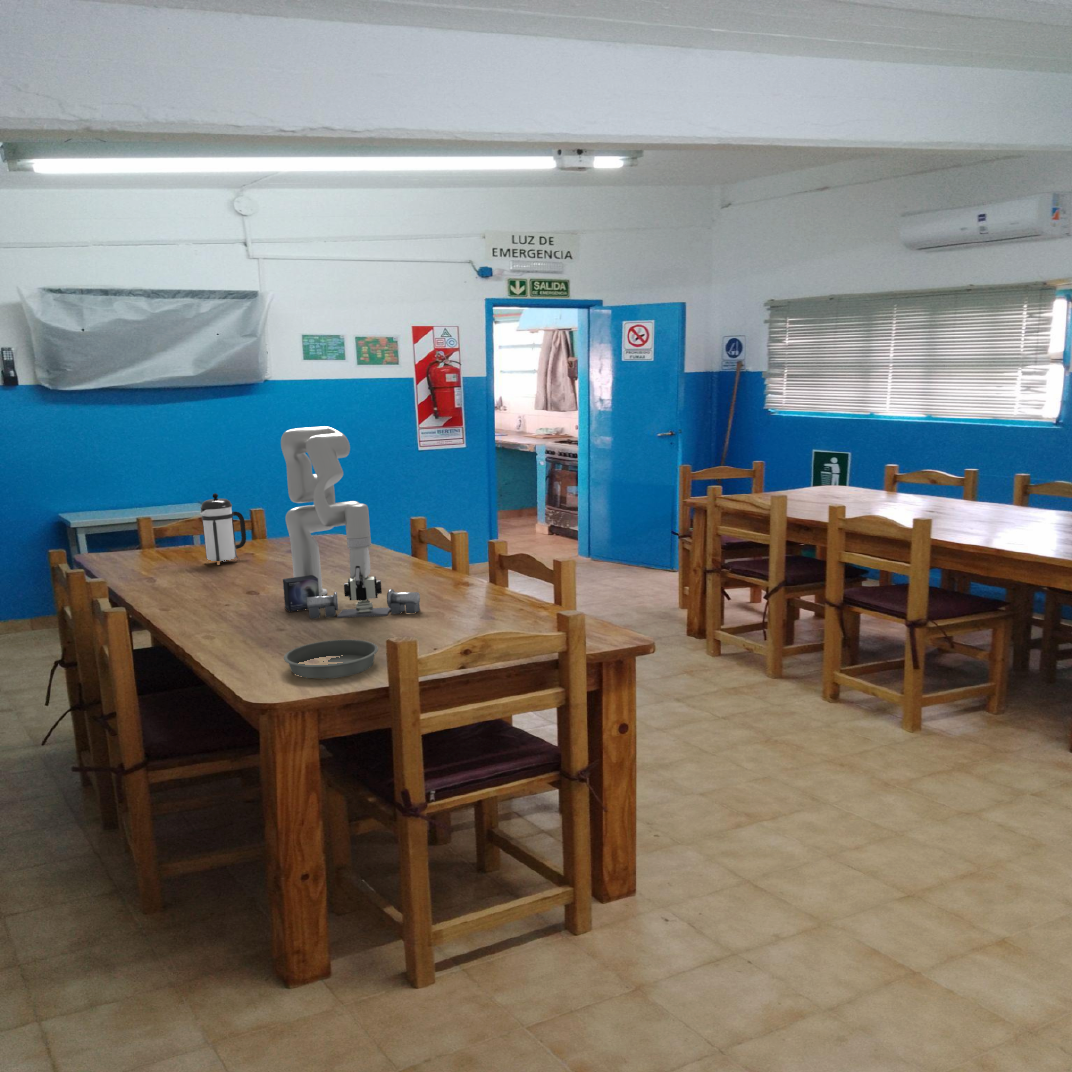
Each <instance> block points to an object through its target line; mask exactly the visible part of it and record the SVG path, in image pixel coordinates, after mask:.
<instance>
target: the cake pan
mask: <svg viewBox="0 0 1072 1072" xmlns="http://www.w3.org/2000/svg"><path fill="white" fill-rule="evenodd" d="M378 651H379V647H378V645H377V644H375V643H374V642H371V641H367V640H362V639H361V640H360V639H331V640H322V641H317V642H312V643H308V644H303V645H300V646H298V647H295V648H292V649H291V650H289V651H288V652H285V654H284V655H283V660H284V662H286V663H287V664H288V665H289V669H290V670H291V673H292V672H293V673H294V674H296V675H299V676H302V677H307V678H306V679H308V678H321V679H320V680H325V679H326V678H329V679H335V678H336V679H337V678H338V679H339V678H343V677H348V676H353V675H357V674H360V673H362V672H364V671H367V670H368V669H370V668H371V667H372V666H373V664H374V659H375V655H376V653H377V652H378ZM341 655H343V656H341ZM326 656H340V658H339V657H336V658H331V659H330V660H328V662H343V663H337V664H328V665H305V664H298V663H299V662H304V661H307V660H310V659H314V658H319V657H326ZM323 662H324V661H323ZM293 673H292V674H293ZM294 674H293V675H294ZM322 678H323V679H322Z"/></svg>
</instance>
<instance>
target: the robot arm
mask: <svg viewBox="0 0 1072 1072" xmlns="http://www.w3.org/2000/svg"><path fill="white" fill-rule="evenodd" d="M350 444H351V443H350V442H349V440H348V437H347V436H346V435H345V434H344V433H343V432H341V431H339V430H337V429H335V428H333V427H330V426H325V425H324V426H311V427H310V426H309V427H297V428H296V427H295V428H291V429H288V430H285V431H284V432H283V434H282V436H281V439H280V448H281V451H282V455H283V457H284V461H285V463H286V464H285V465H286V477H287V489H288V490H287V492H288V497H289V499H290V501H291V502H293V503H296V504H303V503H305V504H306V503H313V504H312V505H310V504H309V505H301V506H296V507H294V508H291V509H289V510H288V511H287V512H286V514H285V524H286V528H287V532H288V535H289V536H288V537H289V542H290V550H291V559H292V570H293V571H292V573H293V578H294V577H301V576H309V575H314V576H315V577H317V578H318V588H319V596H322V595H323V596H327V595H328V590H327V588H323V580H322V568H321V558H320V547H319V543H318V541H317V540H316V538H314V536H313V535H312V534H313V533H317V532H323V531H329V530H332V529H334V527H340V526H342V527H343V526H345V532H346V545H347V546H346V547H347V549H349V573H350V575H349V577H350V578H349V579H354V578H355V583H356V599H357V600H356V601H357V602H359V600H361V601H362V600H366V599H367V596H366V588H365V578H366V577H369V575H370V574H371V561H370V560H371V559H370V551H369V550H370V549H369V548H371V547H372V539H371V527H370V516H369V513H370V512H369V507H368V505H367V504H365V503H360V502H359V501H356V500H350V501H349V500H348V501H342V502H341V501H340V502H336V494H335V484H337V483H338V482H340V480H341V479H342V478H343V476H344V470H343V468H342V466H341V463H340V461H339V459H343V458H347V457H348V456H349V454H350V451H351V445H350ZM306 453H307V454H306ZM313 470H314V472H315V473H313ZM360 577H363V578H360ZM360 580H362V581H360ZM282 590H283V591H284V587H283V586H282Z"/></svg>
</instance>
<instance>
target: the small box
mask: <svg viewBox="0 0 1072 1072" xmlns="http://www.w3.org/2000/svg"><path fill="white" fill-rule="evenodd" d="M283 587H284V590H283V596H284V609H285V608H286V609H287V610H288V611H290V612H289V613H292V612H291V611H296V612H298V611H297V610H302V611H306V610H305V609H308V607H307V597H316V596H319V588H318V578H317V577H315V576H314V575H309V576H301V577H294V576H293V577H289V578H288V577H286V578H283V579H282V588H283ZM286 609H285V610H286ZM287 610H286V611H287ZM288 611H287V612H288Z"/></svg>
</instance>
